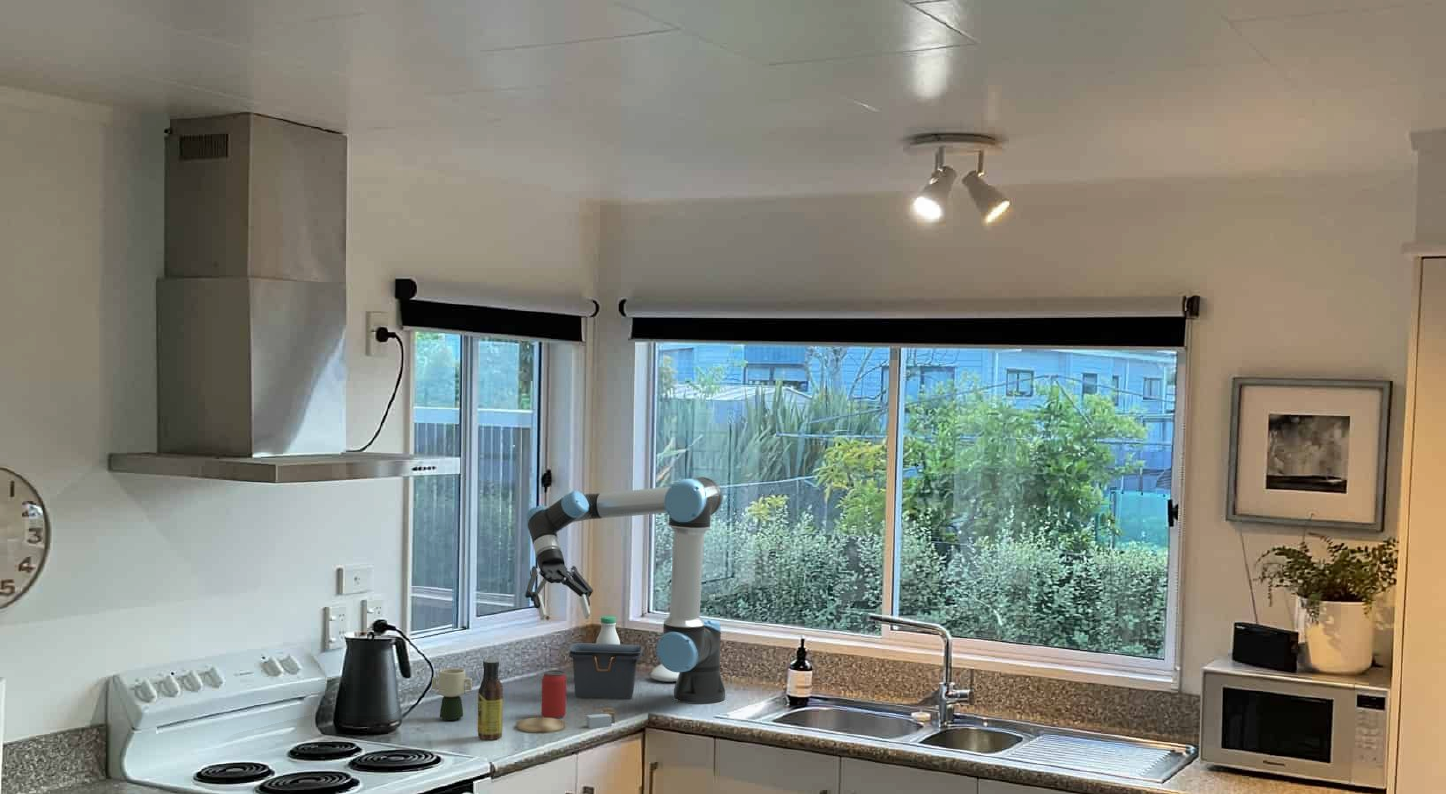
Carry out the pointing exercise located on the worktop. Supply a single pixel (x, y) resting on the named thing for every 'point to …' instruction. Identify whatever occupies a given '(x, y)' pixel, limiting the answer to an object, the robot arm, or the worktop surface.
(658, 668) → the flower in vase
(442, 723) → the worktop surface
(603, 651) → the storage bin
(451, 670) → the character mug
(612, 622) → the milk bottle
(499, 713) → the sauce bottle
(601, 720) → the grey-blue block
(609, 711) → the walnut block
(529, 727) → the trivet
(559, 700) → the beer can
